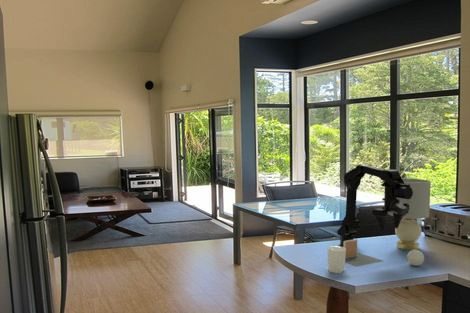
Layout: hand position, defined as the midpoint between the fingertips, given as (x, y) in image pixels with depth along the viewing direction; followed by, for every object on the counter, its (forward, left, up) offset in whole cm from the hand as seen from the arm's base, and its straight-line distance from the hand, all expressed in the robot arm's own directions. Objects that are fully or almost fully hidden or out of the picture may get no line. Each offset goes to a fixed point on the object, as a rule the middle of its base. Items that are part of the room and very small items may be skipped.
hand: (389, 229), depth 228 cm
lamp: (-11, +27, -15) cm, 33 cm away
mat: (-6, -14, -15) cm, 21 cm away
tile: (-11, -14, -14) cm, 23 cm away
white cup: (+1, -34, -15) cm, 37 cm away
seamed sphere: (+12, +2, -15) cm, 19 cm away
